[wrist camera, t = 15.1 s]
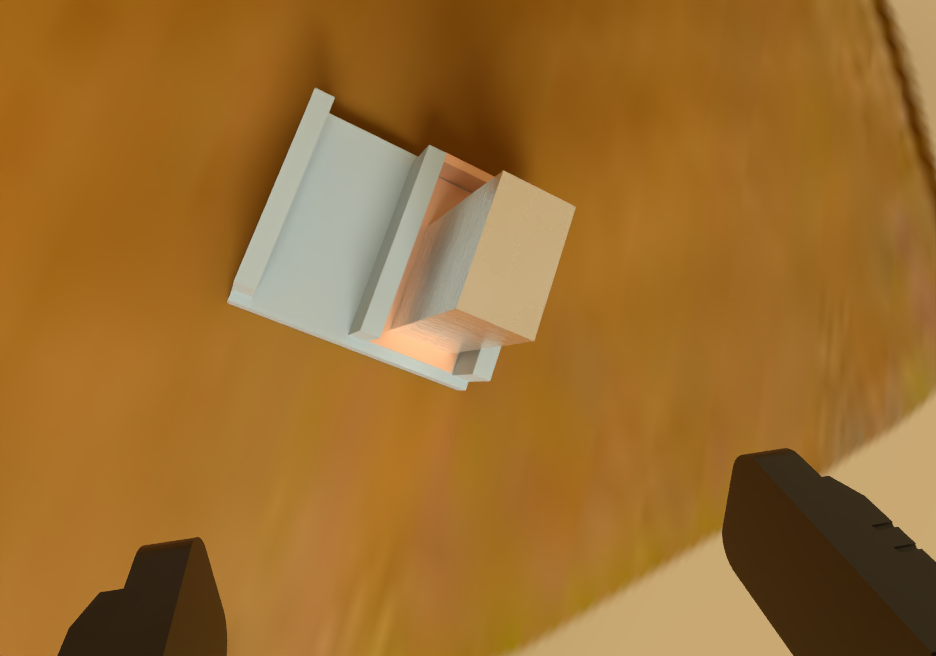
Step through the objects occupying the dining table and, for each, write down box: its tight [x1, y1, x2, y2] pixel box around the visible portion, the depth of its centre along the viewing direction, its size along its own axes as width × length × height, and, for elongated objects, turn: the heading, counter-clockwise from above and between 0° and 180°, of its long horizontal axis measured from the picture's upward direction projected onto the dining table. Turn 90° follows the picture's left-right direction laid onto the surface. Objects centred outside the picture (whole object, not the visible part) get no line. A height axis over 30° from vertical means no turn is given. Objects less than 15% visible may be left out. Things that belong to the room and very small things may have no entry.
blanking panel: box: [391, 170, 576, 354], centre depth 31 cm, size 6×4×10 cm, turn 160°
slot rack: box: [227, 88, 501, 390], centre depth 34 cm, size 11×13×4 cm
